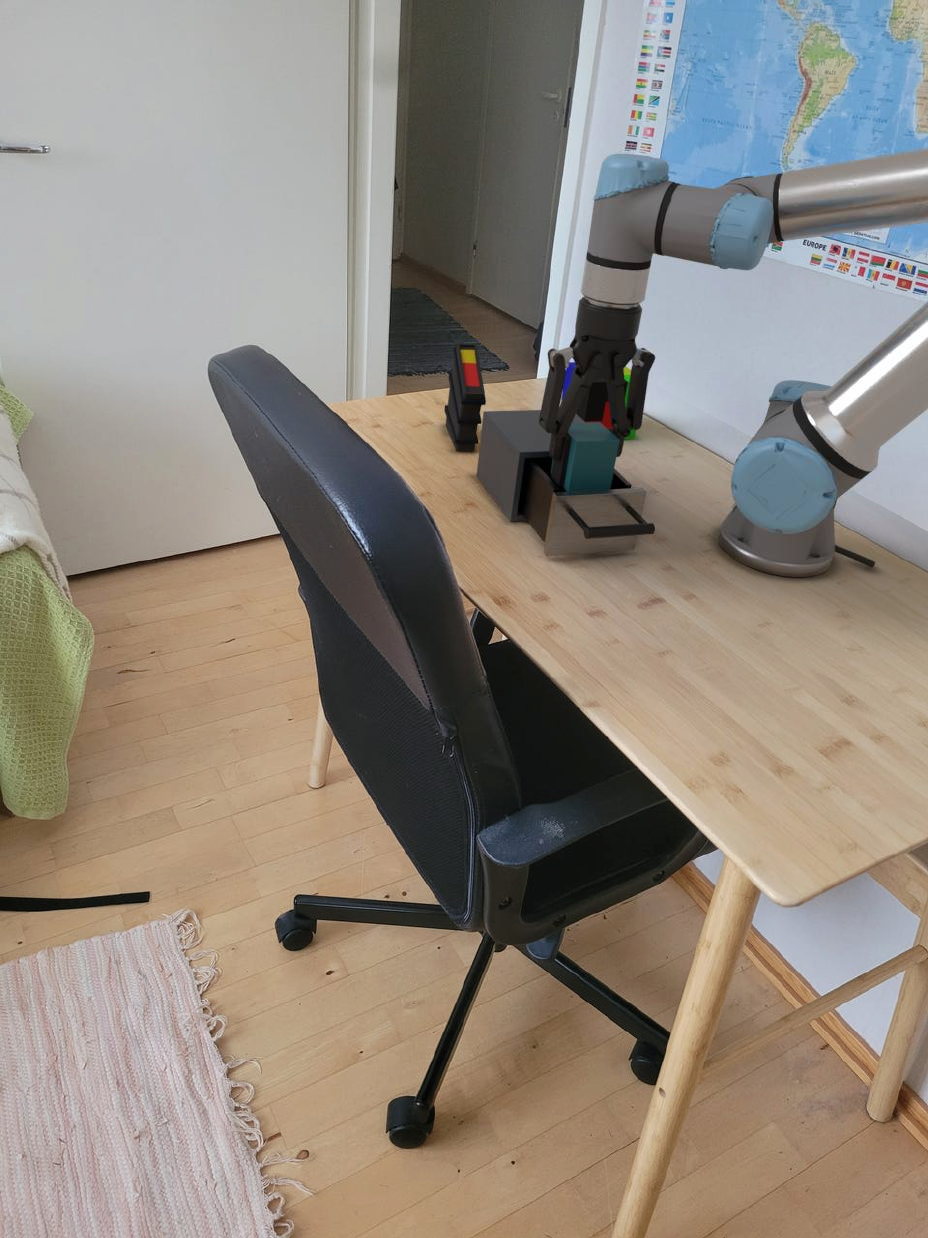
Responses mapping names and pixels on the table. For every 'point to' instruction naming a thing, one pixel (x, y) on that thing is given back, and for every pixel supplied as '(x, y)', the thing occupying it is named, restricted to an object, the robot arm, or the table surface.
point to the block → (590, 457)
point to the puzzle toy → (597, 400)
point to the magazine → (465, 398)
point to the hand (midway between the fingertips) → (580, 479)
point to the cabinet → (510, 454)
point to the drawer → (581, 513)
